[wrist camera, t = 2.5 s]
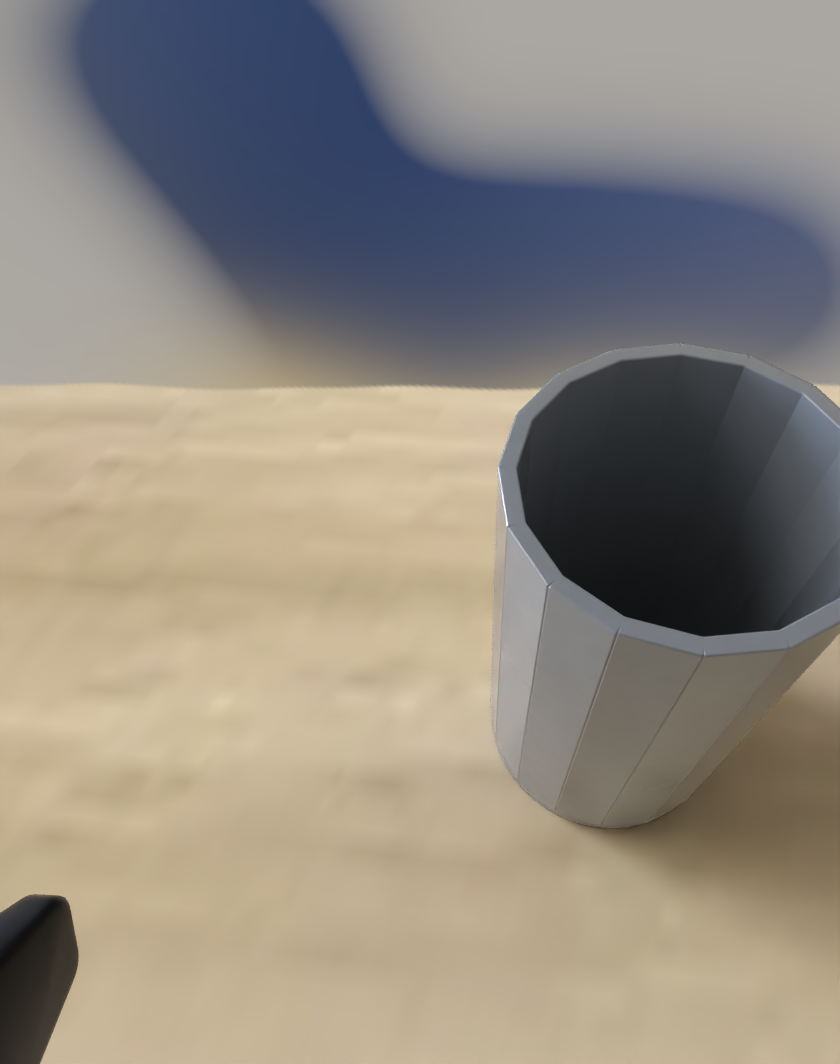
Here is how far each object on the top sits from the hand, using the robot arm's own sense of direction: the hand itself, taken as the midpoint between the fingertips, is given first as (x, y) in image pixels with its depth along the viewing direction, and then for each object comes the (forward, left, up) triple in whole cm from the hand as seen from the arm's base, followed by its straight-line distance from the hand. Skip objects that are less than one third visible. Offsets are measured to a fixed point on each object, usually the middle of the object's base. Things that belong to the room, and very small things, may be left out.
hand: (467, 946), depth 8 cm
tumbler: (+2, -8, -14) cm, 17 cm away
